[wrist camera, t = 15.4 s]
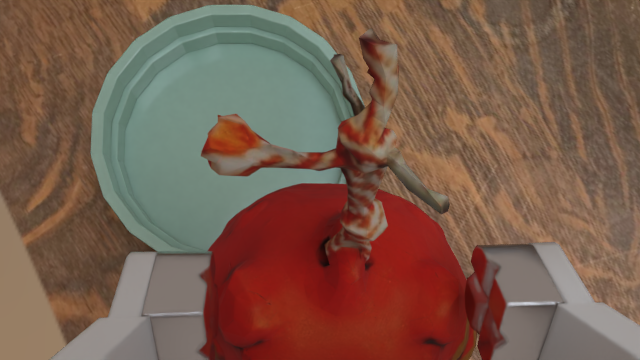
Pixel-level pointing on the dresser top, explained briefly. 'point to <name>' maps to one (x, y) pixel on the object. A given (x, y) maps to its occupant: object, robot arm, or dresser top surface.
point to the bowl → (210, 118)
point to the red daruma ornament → (337, 246)
